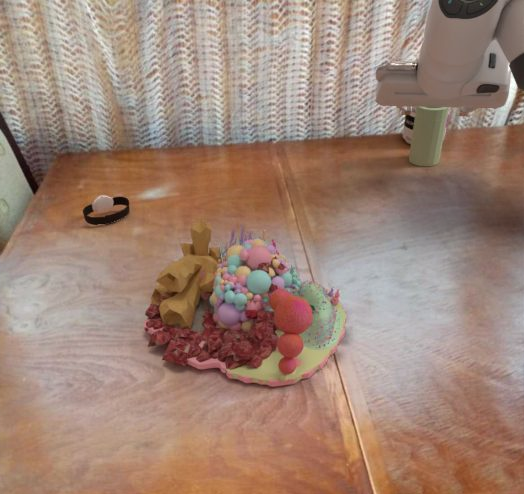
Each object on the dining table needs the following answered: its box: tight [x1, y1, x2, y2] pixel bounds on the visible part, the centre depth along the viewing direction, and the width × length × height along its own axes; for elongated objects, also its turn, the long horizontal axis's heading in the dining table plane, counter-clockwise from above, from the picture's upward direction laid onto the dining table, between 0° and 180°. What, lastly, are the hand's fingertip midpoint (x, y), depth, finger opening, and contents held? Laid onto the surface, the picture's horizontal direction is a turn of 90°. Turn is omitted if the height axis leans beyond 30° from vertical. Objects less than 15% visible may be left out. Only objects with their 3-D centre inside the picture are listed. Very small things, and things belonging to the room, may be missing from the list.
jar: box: [408, 107, 449, 167], centre depth 97 cm, size 6×6×10 cm
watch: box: [82, 194, 131, 226], centre depth 87 cm, size 8×5×4 cm, turn 124°
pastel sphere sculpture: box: [142, 220, 347, 387], centre depth 65 cm, size 25×24×9 cm
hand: (434, 111), depth 92 cm, fingers open, 8 cm apart
